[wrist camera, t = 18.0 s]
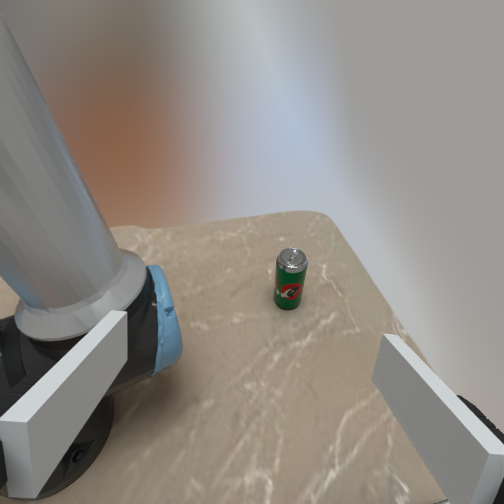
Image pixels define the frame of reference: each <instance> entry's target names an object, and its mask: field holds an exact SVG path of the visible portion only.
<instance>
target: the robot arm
mask: <svg viewBox="0 0 504 504" xmlns="http://www.w3.org/2000/svg"><path fill="white" fill-rule="evenodd" d="M0 276H1V277H2V279H3V280H4V281H5V282H6V283H7V284H8V285H9V286H10V287H11V288H12V289H13V291H14V292H15V293H16V294H17V295H18V296H19V297H20V300H19V302H18V304H17V306H16V310H15V315H12V316H9V317H6V318H3V319H0V495H2V496H5V497H7V498H11V499H20V500H35V499H41V498H44V497H47V496H50V495H53V494H55V493H57V492H59V491H61V490H62V489H64V488H65V487H67V486H68V485H70V484H71V483H73V482H74V481H75V480H76V479H77V478H79V477H80V476H81V475H82V474H83V473H84V472H85V471H86V470H87V469H88V467H89V466H90V465H91V464H92V463H93V461H94V460H95V459H96V457H97V456H98V454H99V453H100V451H101V449H102V448H103V446H104V444H105V442H106V440H107V437H108V435H109V432H110V429H111V426H112V421H113V414H114V405H113V398H112V395H111V394H113V393H115V392H117V391H119V390H121V389H124V388H126V387H128V386H130V385H132V384H135V383H137V382H139V381H141V380H144V379H146V378H148V377H152V376H154V375H155V374H156V373H157V372H158V371H160V370H162V369H164V368H166V367H168V366H170V365H172V364H173V363H175V362H176V361H177V360H178V359H179V358H180V356H181V354H182V349H183V345H182V338H181V332H180V328H179V324H178V320H177V316H176V313H175V311H174V305H173V301H172V297H171V293H170V290H169V287H168V284H167V281H166V278H165V275H164V272H163V270H162V268H161V267H160V266H158V265H153V266H151V265H147V266H145V264H144V262H143V261H142V259H141V258H140V257H139V256H138V255H137V254H135V253H134V252H131V251H129V250H125V249H120V248H119V247H118V245H117V243H116V241H115V239H114V237H113V235H112V233H111V231H110V229H109V227H108V225H107V223H106V221H105V219H104V217H103V215H102V213H101V211H100V209H99V207H98V205H97V203H96V201H95V199H94V197H93V195H92V193H91V191H90V189H89V187H88V185H87V183H86V181H85V179H84V177H83V175H82V173H81V171H80V169H79V167H78V165H77V163H76V161H75V159H74V157H73V155H72V153H71V151H70V149H69V147H68V145H67V143H66V141H65V139H64V137H63V135H62V133H61V131H60V129H59V127H58V125H57V123H56V121H55V119H54V116H53V115H52V112H51V110H50V108H49V106H48V105H47V103H46V100H45V98H44V97H43V94H42V92H41V90H40V88H39V87H38V84H37V82H36V80H35V78H34V76H33V74H32V72H31V70H30V68H29V66H28V64H27V62H26V60H25V58H24V56H23V54H22V52H21V50H20V48H19V46H18V44H17V42H16V40H15V38H14V36H13V34H12V32H11V30H10V28H9V26H8V24H7V22H6V20H5V18H4V16H3V14H2V12H1V10H0ZM372 380H373V382H374V383H375V385H376V386H377V388H378V390H379V391H380V393H381V394H382V396H383V397H384V399H385V401H386V402H387V404H388V405H389V407H390V409H391V410H392V412H393V413H394V415H395V417H396V418H397V420H398V421H399V423H400V424H401V426H402V428H403V429H404V431H405V432H406V434H407V436H408V437H409V439H410V440H411V442H412V444H413V445H414V447H415V448H416V450H417V451H418V453H419V455H420V456H421V458H422V459H423V461H424V463H425V464H426V466H427V467H428V469H429V471H430V472H431V474H432V475H433V477H434V478H435V480H436V482H437V483H438V485H439V486H440V488H441V490H442V491H443V493H444V494H445V496H446V497H447V499H448V501H449V502H450V504H504V434H503V433H502V432H501V431H500V430H499V429H496V426H495V425H494V424H493V423H492V422H491V421H490V420H489V419H486V416H484V414H483V413H481V411H480V410H479V409H478V408H477V407H476V406H475V405H473V404H472V403H470V402H469V401H467V400H466V399H464V398H463V397H461V396H459V395H455V394H454V393H453V392H452V391H451V390H450V389H449V388H448V387H447V386H446V385H445V384H444V383H443V382H442V381H441V379H440V378H439V377H438V376H437V375H436V374H435V373H434V372H433V371H432V370H431V369H430V368H429V367H428V366H427V365H426V364H425V363H424V362H423V361H422V360H421V359H420V358H419V357H418V356H417V355H416V354H415V353H414V352H413V351H412V350H411V349H410V348H409V347H408V346H407V345H406V344H405V342H404V341H403V340H402V339H401V338H400V337H399V336H398V335H393V334H383V335H382V339H381V343H380V347H379V351H378V355H377V359H376V363H375V368H374V372H373V376H372Z"/></svg>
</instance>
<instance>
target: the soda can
mask: <svg viewBox="0 0 504 504" xmlns="http://www.w3.org/2000/svg"><path fill="white" fill-rule="evenodd" d="M307 265H308V262H307V259H306V256H305V254H304V253H303V252H302V251H301V250H299V249H297V248H286V249H284V250H282V251H281V252H280V254H279V255H278V257H277V260H276V274H275V289H274V300H275V302H276V303H277V305H279V306H280V307H282V308H285V309H292V308H295V307H296V306H298V305H299V303H300V301H301V296H302V291H303V286H304V280H305V275H306V270H307Z"/></svg>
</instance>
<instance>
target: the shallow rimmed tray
mask: <svg viewBox="0 0 504 504" xmlns="http://www.w3.org/2000/svg"><path fill="white" fill-rule="evenodd" d="M435 504H450V502H449V501H448V499H446V500H443V501H441V502H438V503H435Z"/></svg>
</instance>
